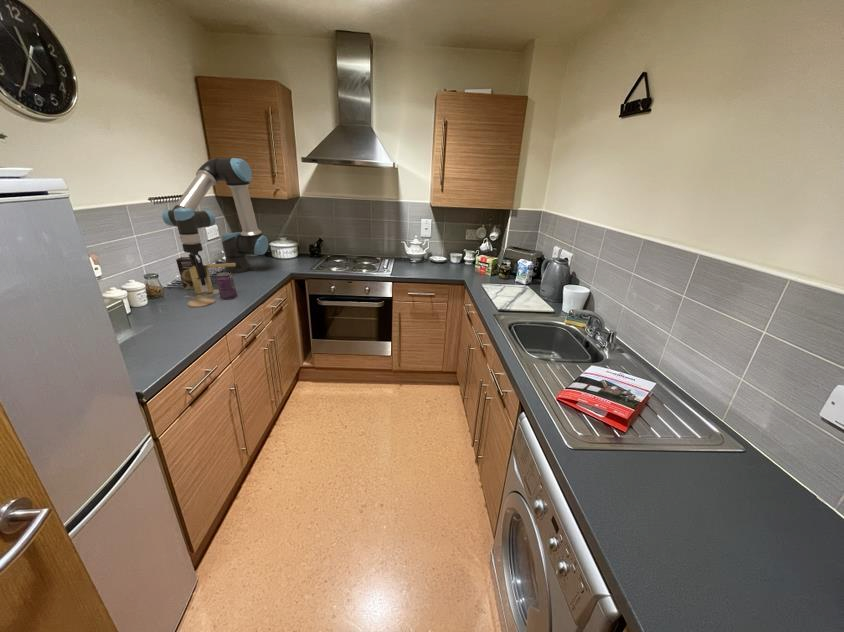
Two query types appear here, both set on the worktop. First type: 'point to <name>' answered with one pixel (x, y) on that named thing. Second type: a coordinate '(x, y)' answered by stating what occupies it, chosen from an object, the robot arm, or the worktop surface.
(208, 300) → the coaster
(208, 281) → the turnkey
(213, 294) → the key plate
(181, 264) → the coffee box
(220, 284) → the purple glass
